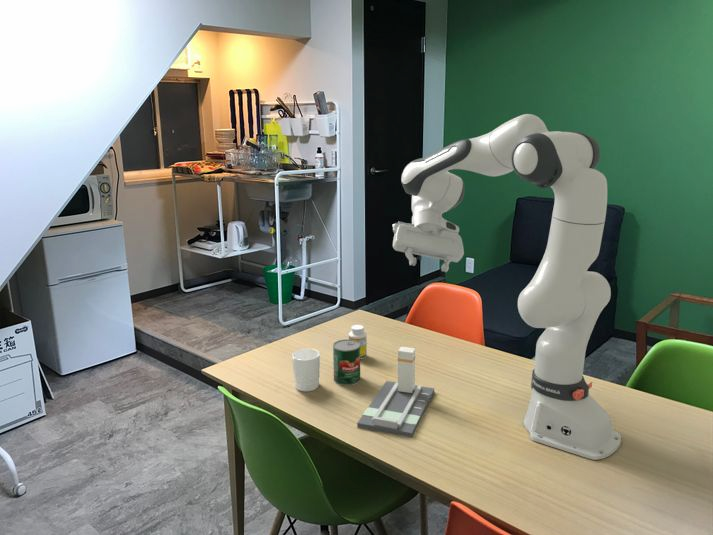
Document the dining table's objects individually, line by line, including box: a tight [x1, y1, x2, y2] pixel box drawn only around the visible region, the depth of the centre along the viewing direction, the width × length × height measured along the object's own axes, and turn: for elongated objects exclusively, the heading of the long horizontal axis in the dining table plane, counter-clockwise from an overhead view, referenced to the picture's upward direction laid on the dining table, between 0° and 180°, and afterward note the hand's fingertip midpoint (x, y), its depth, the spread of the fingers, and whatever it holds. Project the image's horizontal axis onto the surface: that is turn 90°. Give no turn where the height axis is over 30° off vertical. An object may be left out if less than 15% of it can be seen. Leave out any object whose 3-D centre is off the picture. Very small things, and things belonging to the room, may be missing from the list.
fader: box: [397, 346, 416, 393], centre depth 158 cm, size 4×3×12 cm
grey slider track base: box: [356, 380, 435, 438], centre depth 152 cm, size 14×24×3 cm, turn 160°
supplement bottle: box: [348, 324, 368, 360], centre depth 183 cm, size 6×6×10 cm
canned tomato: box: [332, 338, 361, 386], centre depth 168 cm, size 8×8×11 cm
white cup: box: [291, 348, 321, 392], centre depth 164 cm, size 8×8×10 cm
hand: (429, 267), depth 158 cm, fingers open, 8 cm apart
